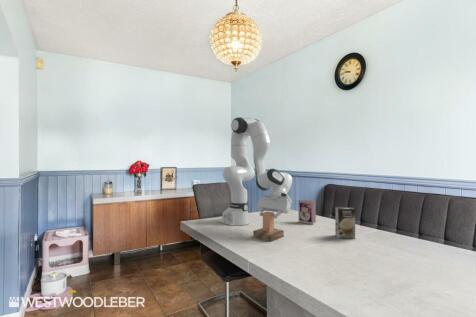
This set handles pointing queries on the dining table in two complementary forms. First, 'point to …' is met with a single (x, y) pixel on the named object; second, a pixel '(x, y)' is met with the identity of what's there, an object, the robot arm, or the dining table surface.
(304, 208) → the greeting card
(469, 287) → the dining table surface
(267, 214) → the pillar block
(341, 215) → the coffee box
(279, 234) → the base block
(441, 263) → the dining table surface
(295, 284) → the dining table surface
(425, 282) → the dining table surface
